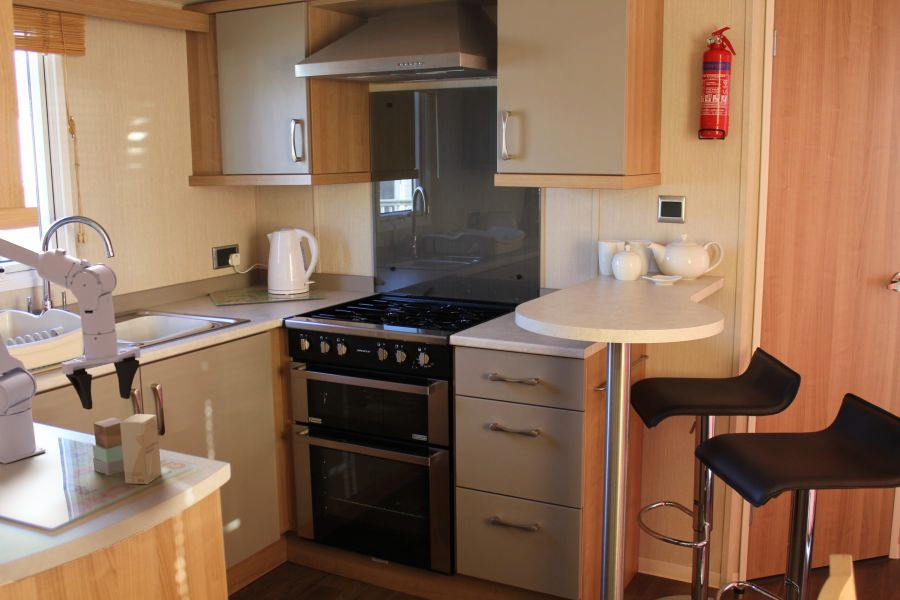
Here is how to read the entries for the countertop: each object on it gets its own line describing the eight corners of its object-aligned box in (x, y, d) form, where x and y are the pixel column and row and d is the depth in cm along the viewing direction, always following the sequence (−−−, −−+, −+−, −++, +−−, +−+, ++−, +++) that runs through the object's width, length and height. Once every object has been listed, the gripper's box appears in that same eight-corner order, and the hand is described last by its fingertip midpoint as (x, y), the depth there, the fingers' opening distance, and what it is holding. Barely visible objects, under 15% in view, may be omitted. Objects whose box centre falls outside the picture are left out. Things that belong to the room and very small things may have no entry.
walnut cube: (95, 444, 160) (93, 423, 160) (116, 438, 163) (113, 417, 163) (107, 448, 158) (105, 427, 157) (128, 442, 161) (125, 421, 160)
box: (147, 485, 153) (141, 423, 151) (124, 483, 154) (118, 422, 152) (162, 473, 158) (157, 413, 156) (140, 472, 159) (134, 412, 157)
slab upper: (93, 457, 161) (92, 444, 160) (119, 449, 165) (118, 436, 164) (107, 463, 158) (106, 450, 157) (133, 455, 161) (132, 442, 161)
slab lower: (94, 471, 161) (93, 458, 161) (119, 462, 165) (118, 450, 164) (108, 477, 158) (107, 463, 158) (134, 468, 162) (133, 455, 161)
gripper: (73, 342, 155) (81, 417, 158) (146, 326, 166) (153, 396, 169) (52, 337, 159) (61, 410, 162) (125, 322, 171) (132, 391, 173)
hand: (106, 403), depth 166 cm, fingers open, 7 cm apart
